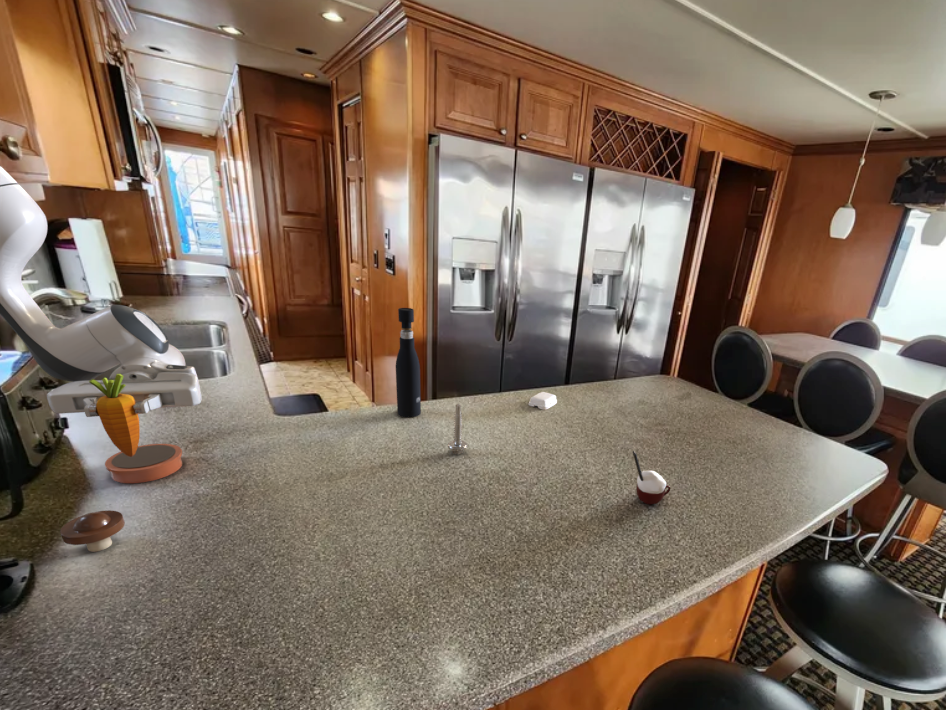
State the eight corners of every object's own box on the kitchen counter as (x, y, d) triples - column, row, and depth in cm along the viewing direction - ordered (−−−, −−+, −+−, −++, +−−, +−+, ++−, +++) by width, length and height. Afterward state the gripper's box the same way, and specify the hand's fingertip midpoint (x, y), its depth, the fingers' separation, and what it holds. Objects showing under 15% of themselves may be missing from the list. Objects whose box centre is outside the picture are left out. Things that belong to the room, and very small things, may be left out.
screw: (462, 458, 111) (444, 454, 112) (470, 450, 115) (452, 446, 116) (463, 408, 106) (444, 405, 107) (471, 402, 110) (453, 398, 111)
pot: (92, 476, 90) (88, 462, 88) (155, 451, 100) (152, 438, 99) (139, 489, 87) (135, 475, 86) (199, 462, 98) (196, 449, 97)
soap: (540, 397, 155) (541, 389, 154) (558, 402, 152) (559, 394, 151) (526, 405, 147) (527, 396, 146) (545, 410, 144) (546, 401, 143)
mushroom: (56, 554, 71) (43, 522, 68) (108, 528, 77) (98, 498, 75) (91, 565, 69) (79, 533, 67) (140, 538, 75) (131, 507, 73)
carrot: (105, 464, 77) (78, 380, 72) (122, 450, 82) (98, 370, 76) (140, 462, 79) (117, 380, 73) (155, 449, 83) (134, 370, 77)
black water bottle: (397, 409, 134) (393, 306, 123) (420, 408, 136) (418, 307, 125) (397, 418, 129) (392, 310, 117) (421, 417, 130) (418, 311, 119)
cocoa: (667, 496, 103) (678, 449, 99) (667, 512, 98) (678, 462, 93) (626, 488, 105) (634, 441, 100) (623, 502, 99) (632, 453, 95)
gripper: (63, 370, 82) (21, 397, 70) (203, 366, 90) (187, 389, 79) (73, 402, 84) (35, 434, 73) (210, 395, 93) (194, 423, 82)
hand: (115, 411), depth 76 cm, fingers closed on carrot, 5 cm apart
